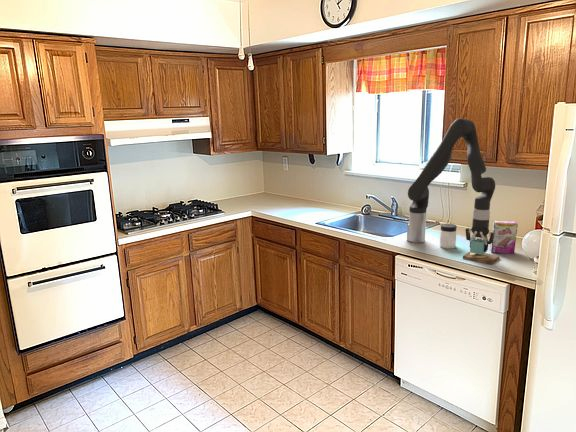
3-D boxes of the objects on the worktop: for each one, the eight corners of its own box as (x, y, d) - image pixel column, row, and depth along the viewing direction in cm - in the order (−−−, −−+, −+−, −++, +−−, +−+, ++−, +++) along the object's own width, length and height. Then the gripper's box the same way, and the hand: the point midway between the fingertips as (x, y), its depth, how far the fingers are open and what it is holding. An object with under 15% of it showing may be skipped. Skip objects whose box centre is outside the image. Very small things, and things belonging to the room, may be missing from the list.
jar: (444, 249, 236) (446, 228, 233) (436, 245, 244) (437, 224, 241) (459, 247, 239) (460, 226, 236) (449, 243, 246) (451, 222, 243)
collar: (469, 252, 221) (470, 240, 219) (474, 249, 225) (475, 238, 223) (482, 254, 217) (483, 243, 215) (486, 251, 221) (487, 240, 219)
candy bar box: (491, 253, 228) (494, 222, 224) (489, 250, 233) (492, 220, 229) (514, 254, 226) (518, 223, 222) (512, 251, 230) (515, 221, 226)
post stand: (462, 258, 221) (464, 239, 219) (471, 253, 229) (472, 234, 227) (491, 264, 212) (493, 244, 210) (499, 258, 220) (501, 239, 217)
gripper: (463, 216, 219) (461, 249, 223) (493, 221, 209) (490, 254, 213) (469, 214, 224) (467, 245, 228) (499, 218, 214) (496, 251, 218)
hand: (478, 249), depth 220 cm, fingers closed on collar, 5 cm apart
